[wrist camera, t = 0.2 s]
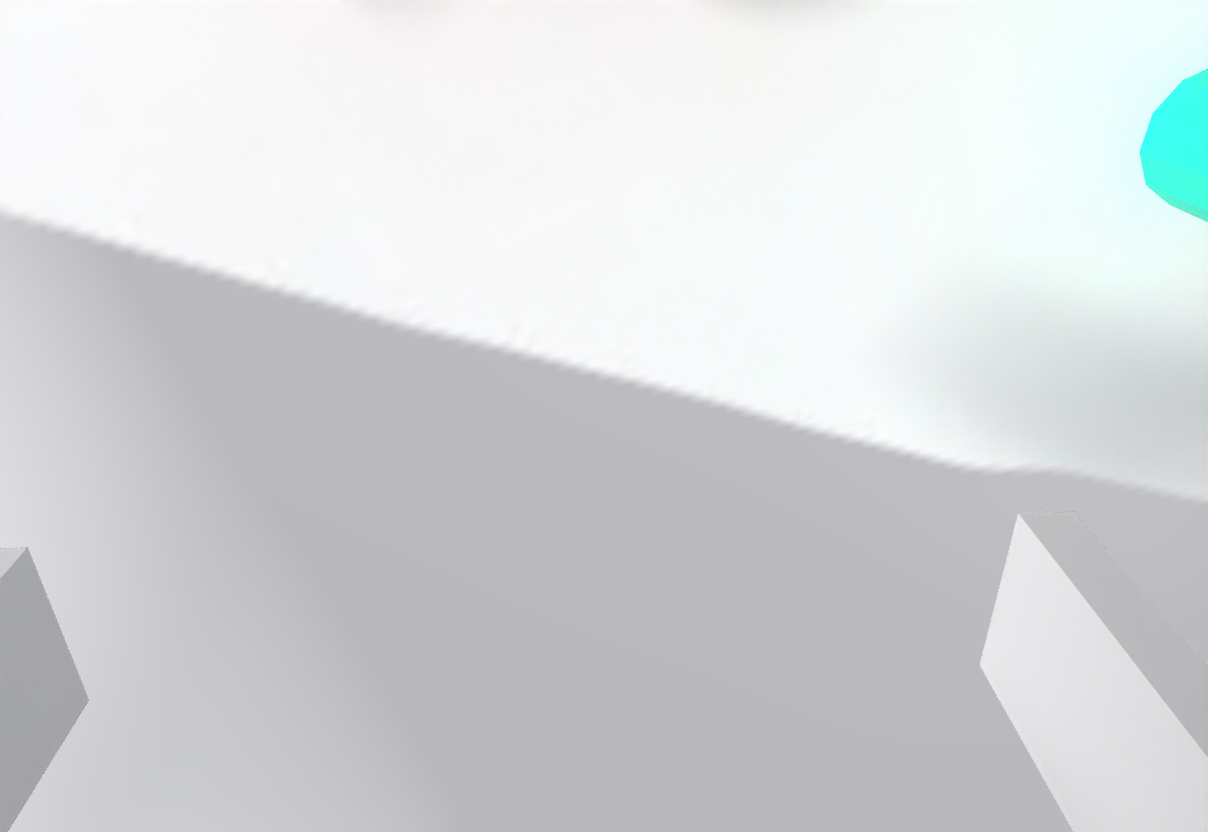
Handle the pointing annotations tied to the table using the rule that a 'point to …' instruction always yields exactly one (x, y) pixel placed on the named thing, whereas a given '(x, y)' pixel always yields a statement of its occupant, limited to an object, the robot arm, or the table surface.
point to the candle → (1180, 147)
